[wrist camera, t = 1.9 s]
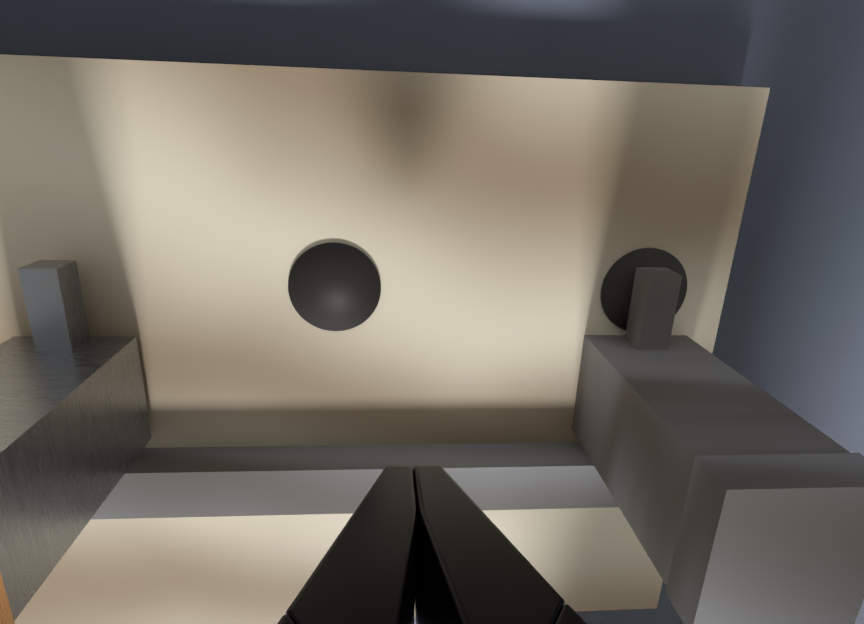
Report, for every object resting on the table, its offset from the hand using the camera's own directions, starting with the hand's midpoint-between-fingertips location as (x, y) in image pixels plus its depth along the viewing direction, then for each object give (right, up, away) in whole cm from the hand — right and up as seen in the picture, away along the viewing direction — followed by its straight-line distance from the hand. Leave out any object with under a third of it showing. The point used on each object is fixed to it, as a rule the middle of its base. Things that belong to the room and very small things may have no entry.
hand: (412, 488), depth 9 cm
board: (-5, +1, +5) cm, 8 cm away
